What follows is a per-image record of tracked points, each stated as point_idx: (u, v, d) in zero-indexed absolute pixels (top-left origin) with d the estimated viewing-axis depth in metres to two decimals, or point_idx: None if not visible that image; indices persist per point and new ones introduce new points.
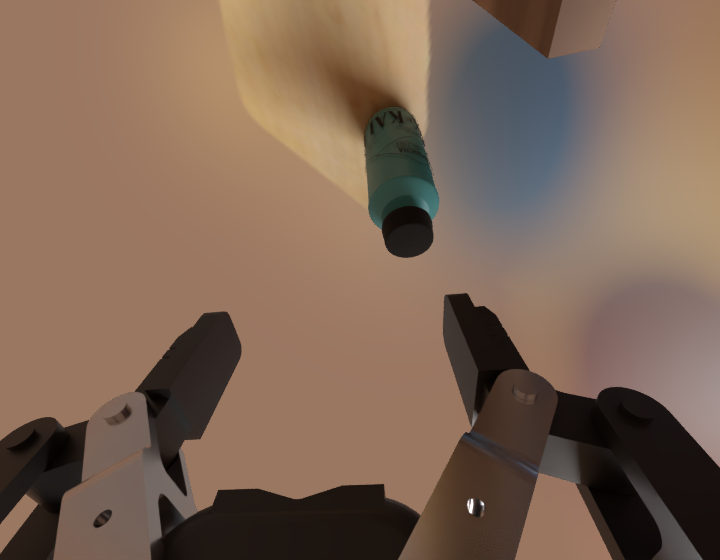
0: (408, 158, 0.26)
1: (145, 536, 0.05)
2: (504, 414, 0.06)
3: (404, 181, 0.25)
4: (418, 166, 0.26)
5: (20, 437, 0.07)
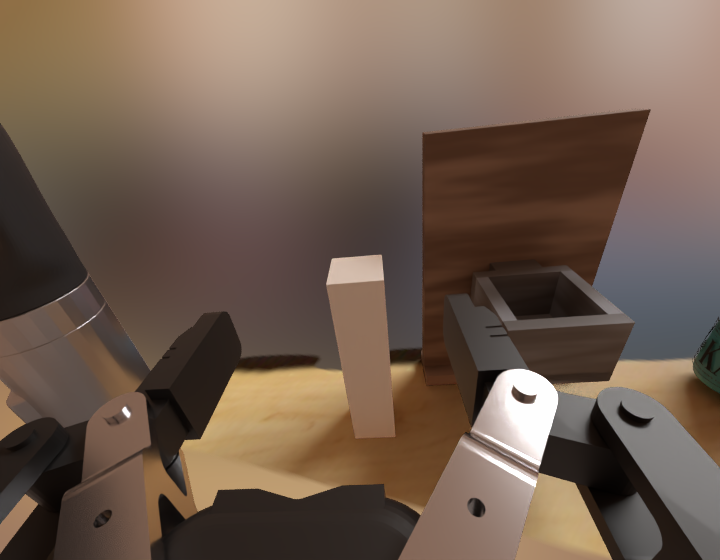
0: None
1: (145, 536, 0.05)
2: (504, 414, 0.06)
3: None
4: None
5: (20, 437, 0.07)
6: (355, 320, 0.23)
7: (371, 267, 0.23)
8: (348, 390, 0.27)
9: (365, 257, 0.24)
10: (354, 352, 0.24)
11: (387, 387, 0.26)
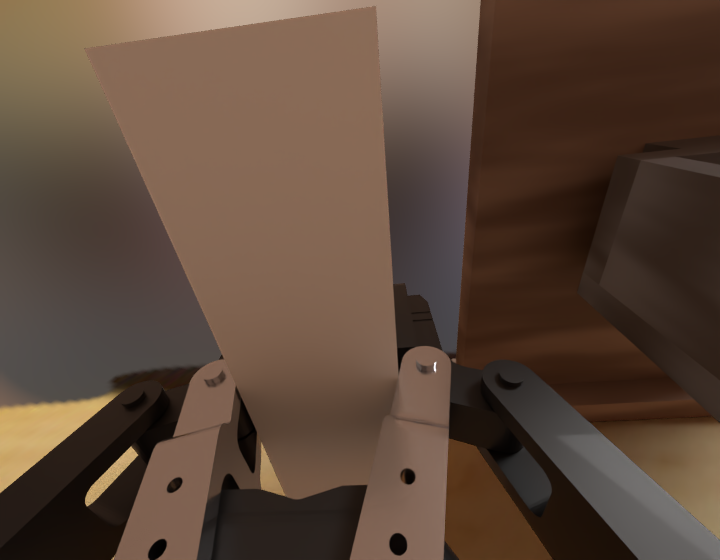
0: None
1: (200, 522, 0.05)
2: (401, 382, 0.07)
3: None
4: None
5: (131, 397, 0.07)
6: (264, 252, 0.06)
7: None
8: (283, 476, 0.10)
9: None
10: (283, 376, 0.07)
11: None
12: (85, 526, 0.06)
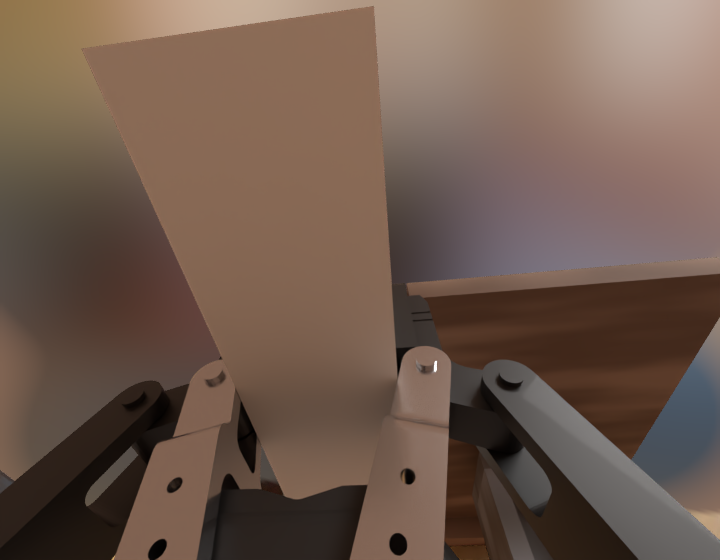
0: None
1: (200, 522, 0.05)
2: (401, 382, 0.07)
3: None
4: None
5: (132, 396, 0.07)
6: (263, 252, 0.06)
7: None
8: (282, 477, 0.10)
9: None
10: (281, 377, 0.07)
11: None
12: (85, 526, 0.06)
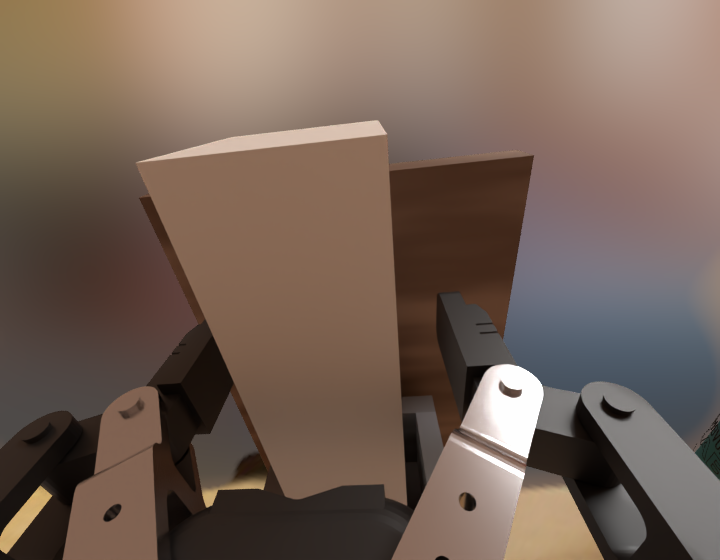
0: None
1: (152, 533, 0.05)
2: (490, 408, 0.06)
3: None
4: None
5: (36, 430, 0.07)
6: (284, 317, 0.06)
7: (341, 130, 0.06)
8: None
9: (328, 126, 0.08)
10: (296, 418, 0.08)
11: (395, 496, 0.10)
12: None
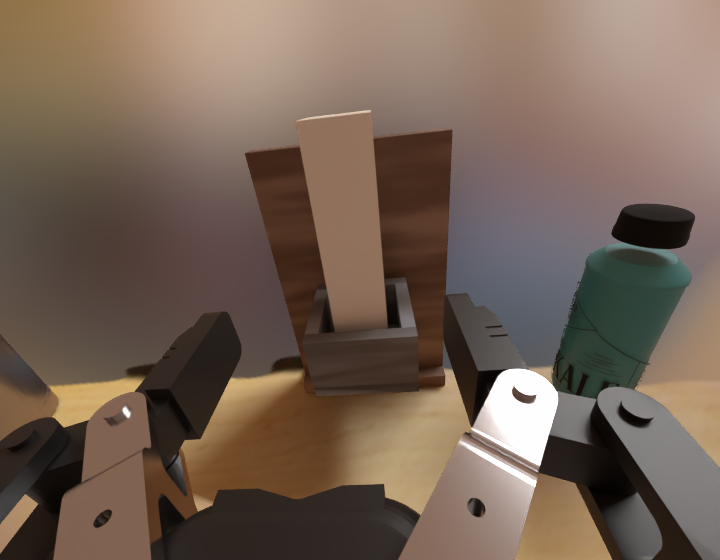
0: (579, 294, 0.26)
1: (145, 536, 0.05)
2: (504, 414, 0.06)
3: (595, 264, 0.24)
4: (581, 280, 0.26)
5: (20, 437, 0.07)
6: (335, 181, 0.17)
7: (356, 112, 0.17)
8: (330, 295, 0.21)
9: (350, 112, 0.19)
10: (336, 235, 0.19)
11: (379, 289, 0.21)
12: None
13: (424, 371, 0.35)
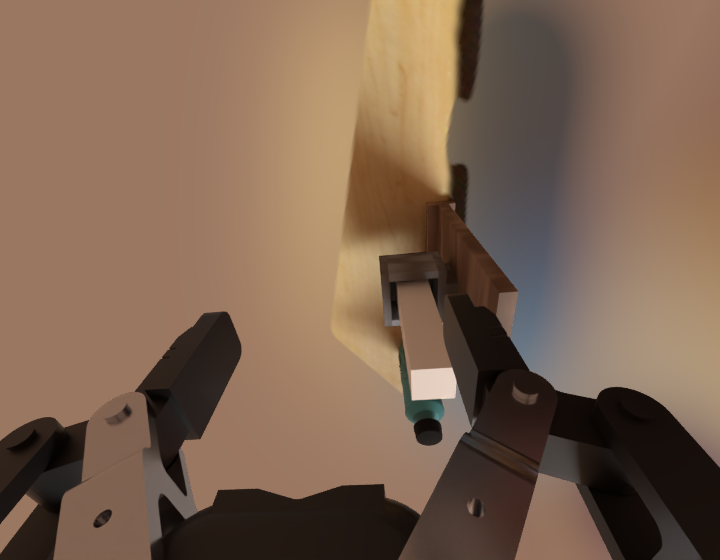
0: None
1: (145, 536, 0.05)
2: (504, 414, 0.06)
3: (426, 402, 0.47)
4: None
5: (20, 437, 0.07)
6: (407, 357, 0.30)
7: (433, 393, 0.28)
8: (399, 301, 0.36)
9: (452, 388, 0.28)
10: (403, 332, 0.33)
11: (400, 324, 0.38)
12: None
13: None
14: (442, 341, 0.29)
